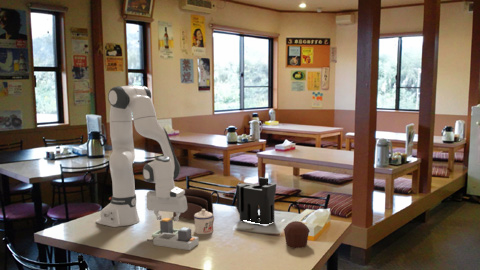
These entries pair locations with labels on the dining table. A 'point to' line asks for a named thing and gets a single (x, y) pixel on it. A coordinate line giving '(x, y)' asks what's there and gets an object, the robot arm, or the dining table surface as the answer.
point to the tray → (159, 232)
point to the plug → (166, 225)
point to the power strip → (174, 241)
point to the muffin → (296, 234)
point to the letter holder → (196, 203)
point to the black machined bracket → (256, 201)
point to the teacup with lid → (204, 222)
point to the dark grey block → (184, 234)
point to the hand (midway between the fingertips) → (167, 220)
